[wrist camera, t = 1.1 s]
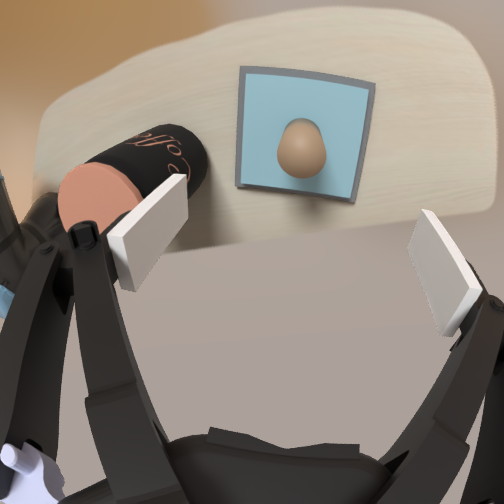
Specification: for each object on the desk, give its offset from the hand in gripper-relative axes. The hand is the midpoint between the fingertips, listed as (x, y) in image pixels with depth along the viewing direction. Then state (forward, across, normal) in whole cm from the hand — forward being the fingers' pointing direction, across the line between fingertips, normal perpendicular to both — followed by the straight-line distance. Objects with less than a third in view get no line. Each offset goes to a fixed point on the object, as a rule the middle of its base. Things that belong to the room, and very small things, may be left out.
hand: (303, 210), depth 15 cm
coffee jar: (+22, -17, -5) cm, 29 cm away
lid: (+21, 0, 0) cm, 21 cm away
